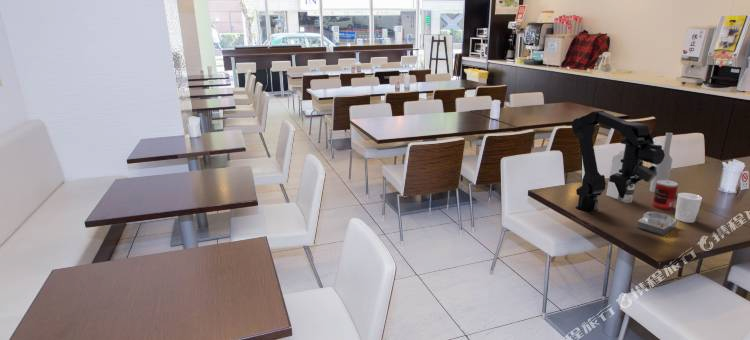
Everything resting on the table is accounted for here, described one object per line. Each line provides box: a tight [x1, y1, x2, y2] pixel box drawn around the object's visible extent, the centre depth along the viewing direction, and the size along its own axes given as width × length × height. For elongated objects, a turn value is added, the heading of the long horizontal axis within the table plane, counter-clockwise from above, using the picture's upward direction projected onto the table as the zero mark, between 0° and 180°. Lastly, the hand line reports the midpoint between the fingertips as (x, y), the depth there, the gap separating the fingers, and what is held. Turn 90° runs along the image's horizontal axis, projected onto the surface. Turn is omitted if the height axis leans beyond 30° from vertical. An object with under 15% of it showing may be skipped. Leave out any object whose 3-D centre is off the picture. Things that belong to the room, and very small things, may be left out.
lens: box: [616, 182, 636, 204], centre depth 168 cm, size 5×5×7 cm
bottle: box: [649, 132, 674, 194], centre depth 203 cm, size 7×7×28 cm
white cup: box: [674, 192, 703, 224], centre depth 175 cm, size 8×8×10 cm
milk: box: [606, 149, 625, 200], centre depth 198 cm, size 6×6×22 cm
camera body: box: [636, 211, 678, 236], centre depth 169 cm, size 9×12×4 cm
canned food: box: [652, 179, 679, 211], centre depth 188 cm, size 8×8×11 cm
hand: (625, 196), depth 169 cm, fingers closed on lens, 5 cm apart
